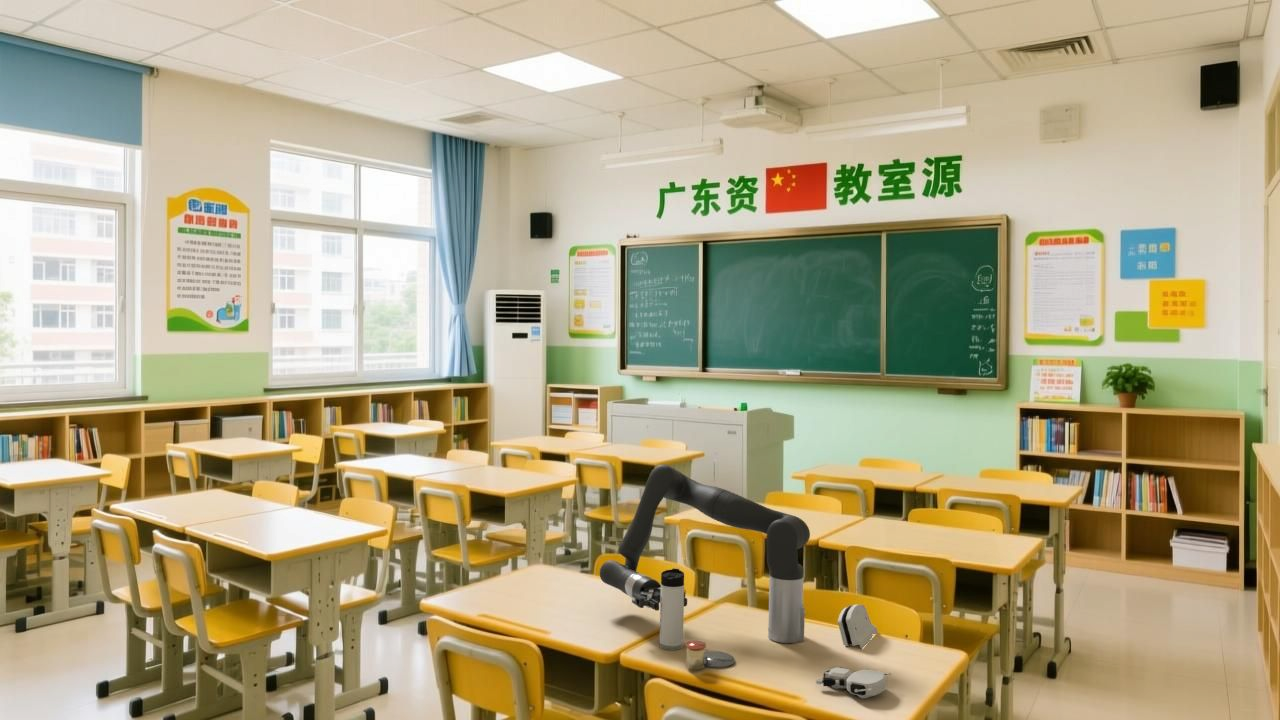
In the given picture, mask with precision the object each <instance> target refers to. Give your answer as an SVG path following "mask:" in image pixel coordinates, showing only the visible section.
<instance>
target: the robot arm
mask: <svg viewBox="0 0 1280 720" xmlns="http://www.w3.org/2000/svg"><path fill="white" fill-rule="evenodd" d="M663 499H667V500H671V501H674V502H678V503H681V504H684V505H687V506H690V507H693V508H694V509H696V510H698V511H699V512H700V513H702V514H703V515H705V516H707V517H709V518H711V519H712V520H714V521H717V522H719V523H722V524H723V525H726V526H729V527H732V528H733V527H734V528H735V529H736V528H737V529H744V530H750V531H754V532H759V533H763V534H765V535H766V563H767V567H768V569H769V570H768V571H769V580H768V581H769V585H768V587H769V588H768V590H769V592H768V626H767V631H768V633H767V637H768V638H769V639H770V640H771V641H773V642H776V643H782V644H796V643H800V642H805V619H806V618H805V617H806V616H805V614H806V613H805V612H806V607H805V605H804V604H803V603H804V567H803V566H802V564H800V563H799V561H798V560H799V559H798V558H799V557H798V549H801V548H803V547H804V546H805V545H807V543H808V542H809V540H810V537H811V532H810V529H809V526H808V525H807V523H806V522H805V521H804V520H803V519H802V518H800V517H798V516H796V515H792V514H788V513H787V512H786V513H785V512H782V511H778V510H775V509H772V508H769V507H766V506H763V505H762V504H760V503H757V502H755V501H753V500H750V499H749V498H746V497H743V496H741V495H739V494H737V493H734V492H732V491H730V490H728V489H724V488H721V487H717V486H712V485H707V484H704V483H703V484H702V483H700V482H698V481H696V480H694V479H692V478H690V477H688V476H687V475H685V474H683V473H682V472H681V471H679V470H677V469H676V468H673V467H672V466H669V465H667V464H659V465H656V466H655V467H654V468H653V469H652V470H651V472H650V474H649V476H648V479H647V481H646V483H645V487H644V490H643V492H642V495H641V498H640V501H639V504H638V506H637V509H636V511H635V514H634V515H633V519H632V521H631V522H630V525H629V527H628V529H627V531H626V533H625V535H624V537H623V538H622V540H621V542H620V544H619V546H618V549H617V551H618V553H619V554H620V555H621V556H622V557H623V558H625V561H624V562H625V563H624V564H622V563H620V562H619V561H616V560H611V559H610V560H607V561H605V562H603V564H602V565H601V566H600V568H599V578H600V580H601V581H602V582H603V583H604V584H606V585H608V586H611V587H613V588H615V589H617V590H619V591H621V592H622V593H624V595H627V596H629V597H630V598H631V603H632V604H634V605H635V606H637V607H638V608H640V609H643V608H644V607H646V608H647V609H649V608H650V609H653V610H655V612H657V611H658V612H659V611H660V597H661V582H659V581H658V580H656V579H654V578H651V577H649V576H648V575H646V574H642V573H640V572H639V571H637V570H638V566H639V561H640V559H641V558H640V557H641V556H642V553H643V552H644V550H645V548H646V546H647V544H648V542H649V540H650V538H651V535H652V530H653V525H654V520H655V515H656V512H657V509H658V507H659V505H660V503H661V502H662V501H663ZM687 606H688V598H687V597H686V592H685V591H684V608H686V607H687Z"/></svg>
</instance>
